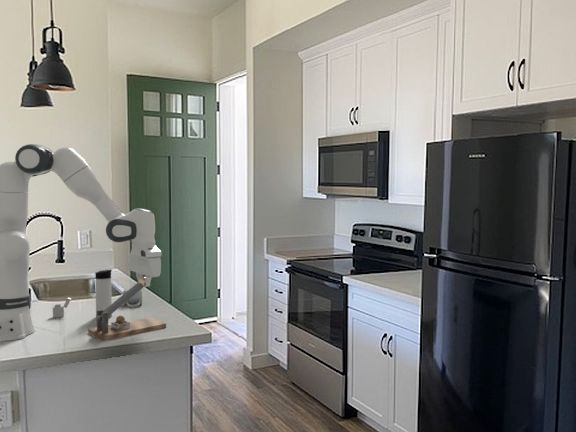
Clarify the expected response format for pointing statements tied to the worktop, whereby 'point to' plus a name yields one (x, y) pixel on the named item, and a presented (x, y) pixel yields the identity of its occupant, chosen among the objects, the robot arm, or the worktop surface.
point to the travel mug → (103, 290)
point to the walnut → (120, 319)
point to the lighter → (60, 309)
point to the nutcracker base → (129, 331)
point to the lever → (124, 298)
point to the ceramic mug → (134, 299)
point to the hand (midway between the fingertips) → (144, 285)
